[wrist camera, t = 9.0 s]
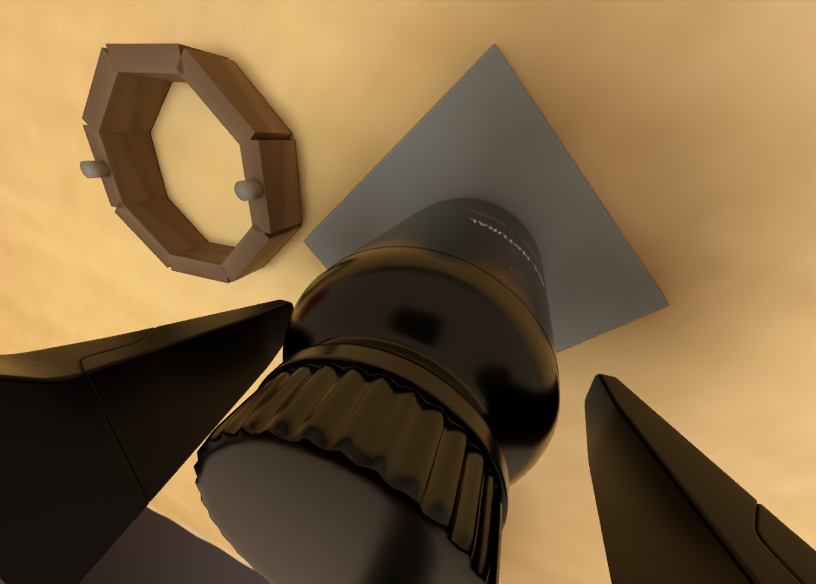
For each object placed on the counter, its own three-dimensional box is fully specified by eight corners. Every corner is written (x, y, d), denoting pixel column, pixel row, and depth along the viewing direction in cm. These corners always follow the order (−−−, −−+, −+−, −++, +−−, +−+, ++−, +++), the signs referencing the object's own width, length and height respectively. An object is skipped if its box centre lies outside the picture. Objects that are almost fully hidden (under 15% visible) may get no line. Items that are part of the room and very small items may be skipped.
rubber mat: (664, 298, 13) (670, 304, 13) (443, 395, 19) (441, 402, 19) (495, 47, 12) (494, 43, 11) (309, 238, 17) (303, 241, 17)
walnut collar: (336, 188, 16) (296, 198, 13) (240, 292, 21) (195, 316, 18) (182, -2, 14) (98, -38, 11) (119, 161, 19) (50, 165, 17)
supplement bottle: (560, 202, 12) (759, 506, 2) (523, 345, 15) (530, 756, 5) (395, 186, 14) (59, 308, 4) (391, 317, 17) (198, 582, 7)
